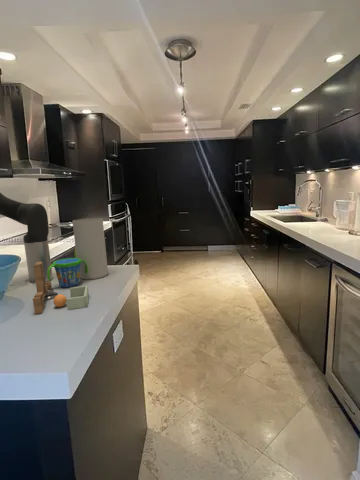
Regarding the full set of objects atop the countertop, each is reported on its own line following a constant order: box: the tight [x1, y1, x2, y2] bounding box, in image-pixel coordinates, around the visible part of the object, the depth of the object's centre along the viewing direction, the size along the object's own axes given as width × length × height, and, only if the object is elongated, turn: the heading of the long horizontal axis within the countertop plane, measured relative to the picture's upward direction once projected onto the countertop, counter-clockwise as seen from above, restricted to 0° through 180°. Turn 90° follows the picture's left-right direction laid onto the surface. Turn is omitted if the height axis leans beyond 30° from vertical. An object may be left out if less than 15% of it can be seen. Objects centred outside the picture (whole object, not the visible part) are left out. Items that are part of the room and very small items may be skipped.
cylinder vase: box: [72, 217, 109, 280], centre depth 129 cm, size 12×12×25 cm
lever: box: [32, 262, 53, 315], centre depth 98 cm, size 18×4×14 cm, turn 15°
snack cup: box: [47, 257, 88, 288], centre depth 118 cm, size 16×10×10 cm
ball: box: [53, 294, 67, 308], centre depth 96 cm, size 4×4×4 cm
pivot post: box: [44, 287, 59, 301], centre depth 106 cm, size 7×7×3 cm
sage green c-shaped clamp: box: [66, 285, 90, 311], centre depth 99 cm, size 12×6×4 cm, turn 15°
